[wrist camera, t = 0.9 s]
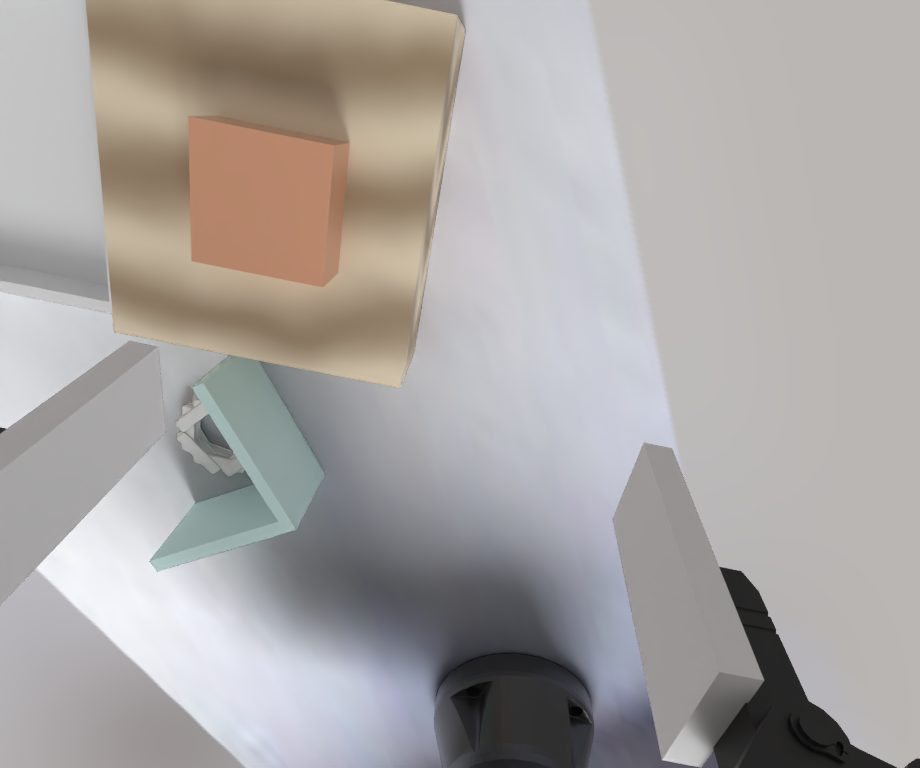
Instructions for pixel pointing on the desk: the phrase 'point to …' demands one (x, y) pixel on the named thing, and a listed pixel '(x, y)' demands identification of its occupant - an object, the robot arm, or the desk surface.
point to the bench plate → (291, 108)
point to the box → (50, 158)
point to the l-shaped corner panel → (242, 464)
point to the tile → (266, 199)
